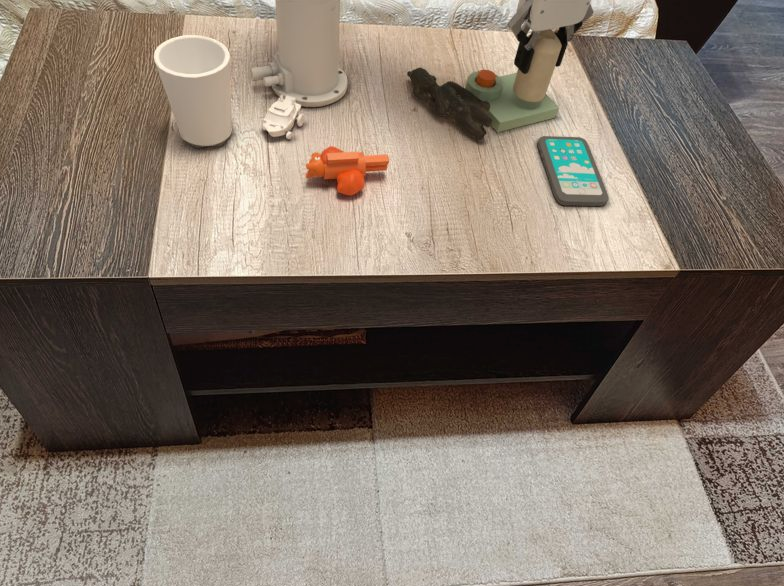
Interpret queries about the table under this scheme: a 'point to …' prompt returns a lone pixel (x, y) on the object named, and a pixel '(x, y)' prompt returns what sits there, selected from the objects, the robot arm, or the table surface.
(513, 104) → the scale
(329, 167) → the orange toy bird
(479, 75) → the button
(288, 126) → the toy car
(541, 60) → the candle
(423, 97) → the statue
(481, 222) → the table surface
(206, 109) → the cup
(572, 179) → the smartphone
